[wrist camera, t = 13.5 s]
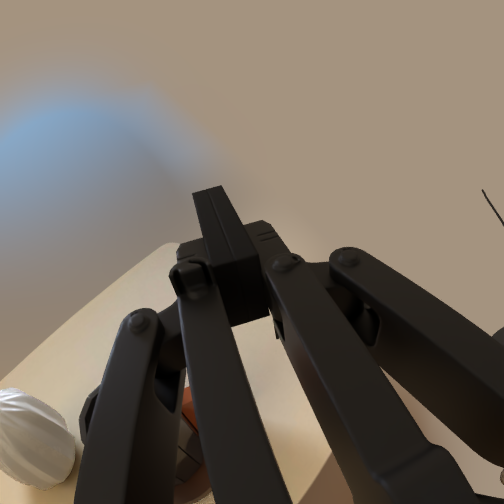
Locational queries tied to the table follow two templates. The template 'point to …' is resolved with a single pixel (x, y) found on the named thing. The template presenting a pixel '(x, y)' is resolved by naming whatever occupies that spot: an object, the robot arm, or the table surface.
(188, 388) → the mug
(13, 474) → the vase
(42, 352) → the table surface
